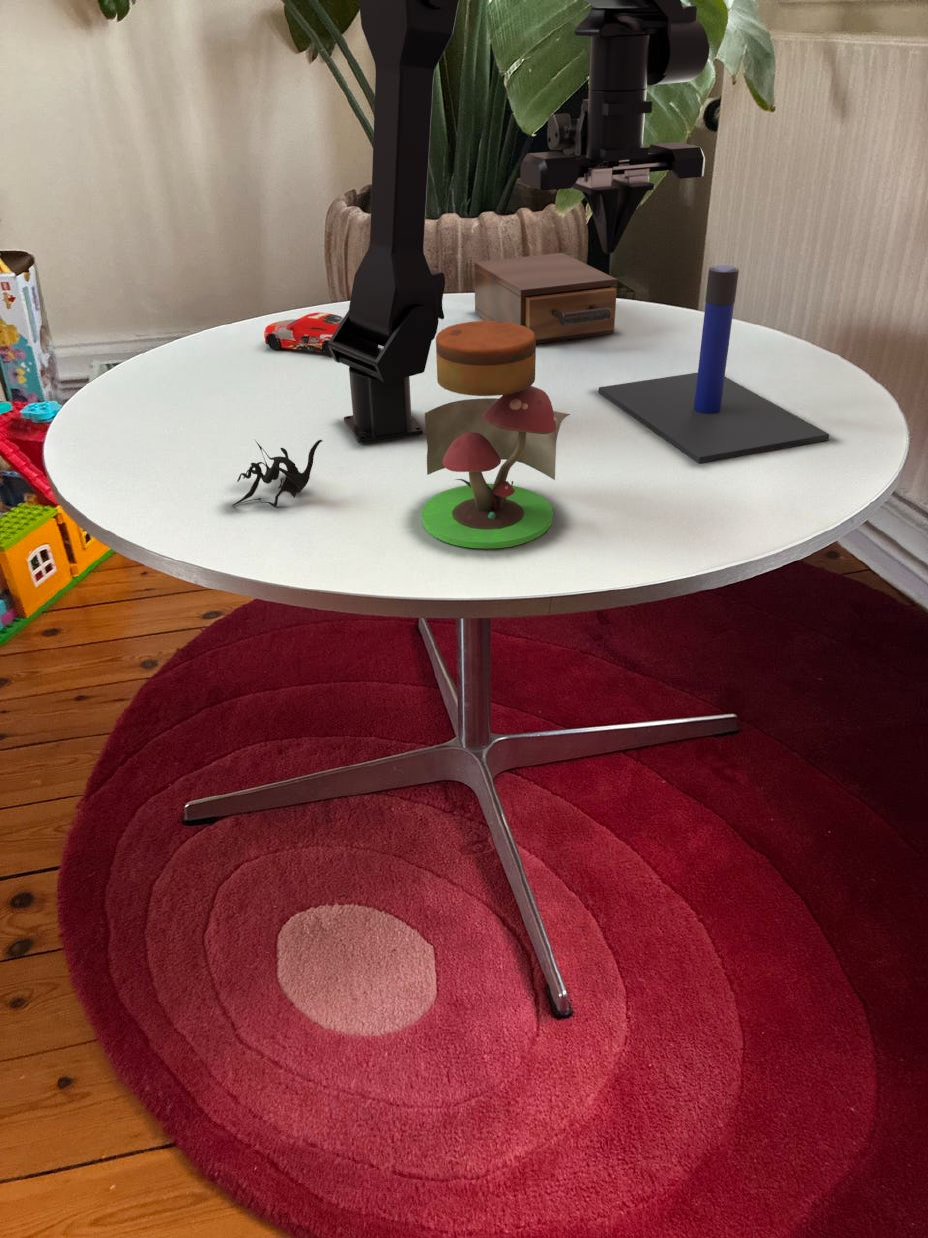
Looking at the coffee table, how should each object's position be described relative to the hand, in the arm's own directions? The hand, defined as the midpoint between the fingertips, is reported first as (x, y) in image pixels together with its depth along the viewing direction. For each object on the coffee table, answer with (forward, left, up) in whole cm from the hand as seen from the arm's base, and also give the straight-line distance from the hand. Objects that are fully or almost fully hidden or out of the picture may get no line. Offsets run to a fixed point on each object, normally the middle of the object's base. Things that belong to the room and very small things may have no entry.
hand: (608, 252), depth 105 cm
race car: (+19, +29, -12) cm, 37 cm away
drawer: (+13, 0, -11) cm, 17 cm away
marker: (-19, -2, -11) cm, 22 cm away
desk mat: (-19, -2, -12) cm, 23 cm away
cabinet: (+17, 0, -12) cm, 21 cm away
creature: (-21, +42, -12) cm, 49 cm away
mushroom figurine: (-32, +26, -12) cm, 43 cm away
